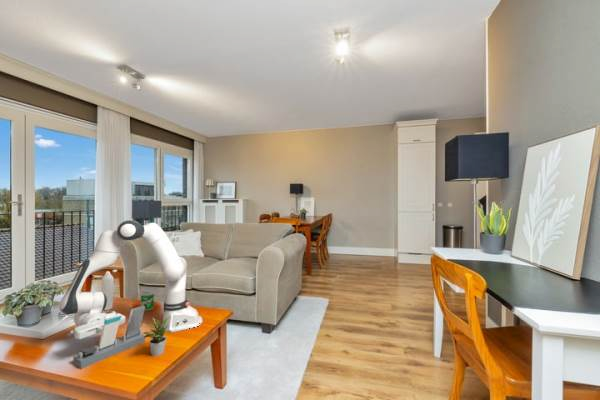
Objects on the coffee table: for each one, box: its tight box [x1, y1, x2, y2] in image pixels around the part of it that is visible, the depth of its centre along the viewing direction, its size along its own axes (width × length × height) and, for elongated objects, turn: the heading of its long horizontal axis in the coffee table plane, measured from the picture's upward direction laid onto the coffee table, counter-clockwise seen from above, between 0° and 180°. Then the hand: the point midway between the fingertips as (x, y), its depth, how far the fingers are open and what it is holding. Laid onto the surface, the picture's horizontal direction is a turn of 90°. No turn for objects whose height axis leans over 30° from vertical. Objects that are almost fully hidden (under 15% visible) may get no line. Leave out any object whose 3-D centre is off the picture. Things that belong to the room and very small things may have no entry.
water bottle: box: [101, 269, 118, 311], centre depth 179 cm, size 9×6×25 cm
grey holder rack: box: [72, 328, 146, 370], centre depth 127 cm, size 27×8×5 cm, turn 149°
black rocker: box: [79, 346, 97, 355], centre depth 119 cm, size 4×6×1 cm, turn 59°
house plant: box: [139, 316, 172, 357], centre depth 128 cm, size 14×14×16 cm
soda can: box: [140, 290, 155, 312], centre depth 178 cm, size 8×8×12 cm
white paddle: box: [97, 313, 121, 349], centre depth 124 cm, size 6×2×16 cm, turn 149°
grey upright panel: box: [124, 305, 145, 339], centre depth 134 cm, size 6×2×16 cm, turn 149°
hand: (108, 330), depth 124 cm, fingers closed, pressing on white paddle
